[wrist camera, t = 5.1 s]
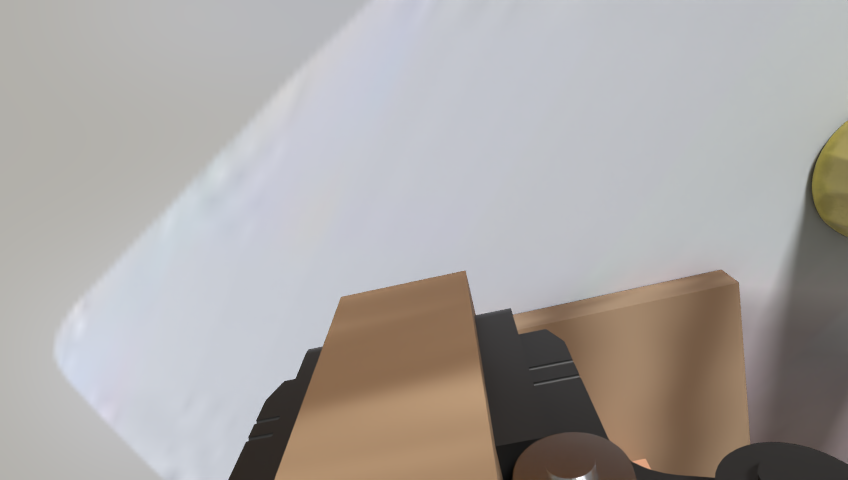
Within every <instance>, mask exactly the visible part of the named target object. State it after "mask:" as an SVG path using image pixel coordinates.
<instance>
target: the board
mask: <svg viewBox="0 0 848 480" xmlns="http://www.w3.org/2000/svg"><path fill="white" fill-rule="evenodd" d="M513 317H514V321H515V324H516V327H517V331H518V334H523V333H528V332H533V331H538V330H543V329H547V330H548V331H550V332H551V333H553V334H554V335H556V336H557V337H559V338H560V339H562V340H563V341H565V344H566V346H567V348H568V350H569V353H570V355H571V357H572V359H573V363H574V364H575V366H576V368H577V370H578V372H579V375H580V378H581V379H582V381H583V383H584V386H585V388H586V390H587V392H588V394H589V397H590V399H591V401H592V403H593V406H594V408H595V410H596V412H597V414H598V417H599V419H600V421H601V423H602V425H603V428H604V430H605V432H606V434H607V436H608V438H609V440H610V441H611V442H613V443H614V444H616V445H617V446H618V447H620V448H621V449H622V450H623V451H624V452H625V454H626V455H627V456H628V458H629V459H630V460H631V461H636V460H641V459H646V460H647V462H648V464H649V466H650V468H651V470H654V471H658V472H662V473H667V474H675V475H686V476H699V477H712V478H715V472H716V470H717V467H718V465H719V463H720V462H721V460H722V459H723V458H724V457H725V456H726V455H728V454H729V453H730V452H732V451H734V450H736V449H738V448H740V447H743V446H746V445H750V433H749V419H748V405H747V391H746V377H745V363H744V349H743V334H742V320H741V306H740V292H739V282H737V281H736V280H735V279H733V278H732V277H731V276H729V275H728V274H727V273H725V272H724V271H723V270H718V271H713V272H708V273H704V274H699V275H695V276H690V277H685V278H681V279H676V280H672V281H667V282H662V283H658V284H653V285H649V286H644V287H639V288H635V289H630V290H625V291H621V292H616V293H612V294H607V295H602V296H598V297H593V298H589V299H584V300H579V301H575V302H570V303H565V304H561V305H556V306H552V307H547V308H542V309H538V310H533V311H529V312H524V313H519V314H515V315H513Z"/></svg>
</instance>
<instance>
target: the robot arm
mask: <svg viewBox="0 0 848 480" xmlns="http://www.w3.org/2000/svg"><path fill="white" fill-rule="evenodd" d="M474 317H475V323H476V330H477V336H478V342H479V348H480V354H481V361H482V367H483V373H484V379H485V386H486V392H487V398H488V404H489V411H490V417H491V423H492V429H493V436H494V442H495V447H496V452H497V456H498V460H499V464H500V469H501V473H502V477H503V480H848V464H846V463H844V462H842V461H840V460H838V459H836V458H834V457H832V456H830V455H828V454H825V453H823V452H821V451H818V450H815V449H812V448H809V447H805V446H800V445H796V444H789V443H781V442H764V443H755V444H750V445H746V446H743V447H740V448H738V449H736V450H734V451H732V452H730V453H729V454H728V455H726V456H725V457H724V458H723V459H722V460H721V462H720V463H719V465H718V467H717V470H716V472H715V478H712V477H699V476H686V475H675V474H667V473H662V472H658V471H654V470H651V469H648V468H645V467H642V466H640V465H638V464H636V463H634V462H632V461H631V460H630V459H629V458H628V456H627V455H626V454H625V452H624V451H623V450H622V449H621V448H620V447H618V446H617V445H616V444H614V443H613V442H611V441H610V440H609V438H608V436H607V434H606V432H605V430H604V428H603V425H602V423H601V421H600V419H599V417H598V414H597V412H596V410H595V408H594V406H593V403H592V401H591V399H590V397H589V394H588V392H587V390H586V388H585V386H584V383H583V381H582V379H581V378H580V375H579V372H578V370H577V368H576V366H575V364H574V363H573V359H572V357H571V355H570V353H569V350H568V348H567V346H566V344H565V341H563V340H562V339H560V338H559V337H557V336H556V335H554V334H553V333H551V332H550V331H548V330H547V329H543V330H538V331H533V332H528V333H523V334H518V331H517V327H516V324H515V321H514V317H513V314H512V311H511V308H509V309H504V310H500V311H495V312H490V313H485V314H480V315H475V316H474ZM322 348H323V347H318V348H314V349H309V350H308V351H307V353H306V355H305V357H304V360H303V362H302V365H301V367H300V369H299V372H298V374H297V377H296V379H293V380H288V381H284V382H283V383H282V384H281V385H280V386H279V387H278V388H277V389H276V390H275V391H274V392H273V393H272V394H271V396H270V397H269V398H268V399H267V400H266V401H265V403H264V405H263V407H262V409H261V412H260V414H259V416H258V418H257V420H256V421H257V424H254V426H253V429H252V431H251V433H250V435H249V437H248V438H249V441H247V442H246V443H245V446H244V448H243V450H242V452H241V454H240V456H239V458H238V460H237V463H236V465H235V467H234V469H233V471H232V473H231V475H230V477H229V480H274V479H275V477H276V474H277V471H278V468H279V466H280V463H281V460H282V457H283V455H284V452H285V449H286V447H287V444H288V441H289V438H290V436H291V433H292V430H293V427H294V425H295V422H296V419H297V416H298V414H299V411H300V408H301V405H302V403H303V400H304V397H305V394H306V392H307V389H308V386H309V383H310V381H311V378H312V375H313V372H314V370H315V367H316V364H317V362H318V359H319V356H320V353H321V351H322Z"/></svg>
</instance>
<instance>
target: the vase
mask: <svg viewBox="0 0 848 480" xmlns="http://www.w3.org/2000/svg"><path fill="white" fill-rule="evenodd" d="M812 195H813V200H814V204H815V207H816V209H817V211H818V213H819V215H820V217H821V218H822V220H823V221H824V222H825V223H826V224H827V225H828V226H830V227H831V228H832V229H834V230H835V231H837V232H838V233H840V234H842V235H844V236H847V237H848V121H846V122H845V123H844V124H843V125H842V126H841V127H840V128H839V129H838V130H837V131H836V132H835V133H834V134H833V135H832V136H831V138H830V139H829V140H828V142H827V143H826V145H825V146H824V148H823V149H822V151H821V153H820V155H819V157H818V160H817V162H816V165H815V169H814V172H813V178H812Z"/></svg>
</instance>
